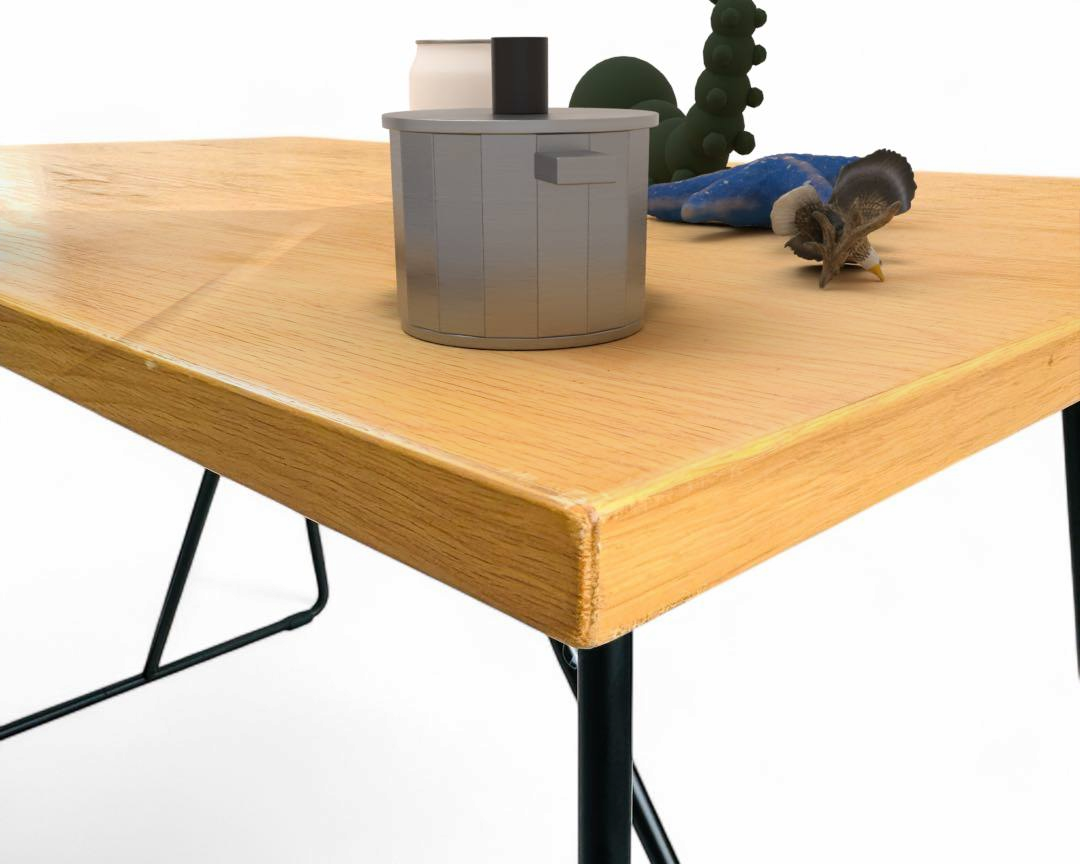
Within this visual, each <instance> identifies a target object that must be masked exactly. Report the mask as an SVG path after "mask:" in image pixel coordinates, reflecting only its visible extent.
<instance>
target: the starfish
mask: <svg viewBox="0 0 1080 864" xmlns="http://www.w3.org/2000/svg"><path fill="white" fill-rule="evenodd" d="M859 158H862V156H856V155H853V156H843V155H827V154H812V153H805V152H804V153H795V152H785V153H775V154H770V155H764V156H763V157H759V158H756V159H754V160H752V161H749V162H747V163H743V164H737V165H735V166H733V167H731V168H730V169H728V170H720V171H717V172H714V173H710V174H704V175H700V176H697V177H694V178H690V179H687V180H682V181H679V182H671V183H660V184H654V185H651V186H649V187H648V202H647V216H650V217H652V218H653V217H654V218H656V219H658V220H663V221H671V222H686V223H693V224H695V223H711V222H715V223H723V224H726V225H729V226H733V227H736V228H739V227H758V228H772V222H771V217H770V215H771V212H772V210H773V205H774V203H775V202H776V201H777V200H778V199H779V198H780V197H781V196H782V195H784V194H786V193H788V192H790V191H792V190H793V189H796V188H798V187H800V186H805V185H812V186H813V187H814V188H815V189H816V192H817V194H818V196H819V198H820V200H821V203H822V204H824V205H826V204H827V203H828V202H829V199H830V198H831V193H832V191H833V189H834V187H835V184H836V181H837V179H838V175H839V173H840V170H841V168H842V166H844V165H848V164H849V163H852V162H854V161H855V160H856V159H859ZM911 170H912V171H913V168H912V166H911Z"/></svg>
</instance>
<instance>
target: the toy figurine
mask: <svg viewBox="0 0 1080 864" xmlns="http://www.w3.org/2000/svg"><path fill="white" fill-rule="evenodd" d="M708 1H709V2H710V3H711V4H712V5H714V6H713V8H712V10H711V14H710V19H709V20H710V28H711V30H712V32H710V34H709V35H708V37H707V38H706V40H705V41H704V44H703V47H702V60H703V66H704V70H702V71H701V73H700V75H699V76H698V77H697V79H696V82H695V85H694V102H695V103H693V105H691V107H690V108H689V109H688V111H687V112H686V114H685V113H684V112H683V111H682V110H681V109H680V108H679V107H678V100H677V97H676V93H675V91H674V88H673V86H672V84H671V83H670V82H669V80H668V78H667V77H666V75H665V74H664V73H662V71H661V70H659V69H658V68H657V67H656V66H654V65H653V64H652V63H650V62H649V61H647V60H645V59H641V58H638V57H636V56H630V55H629V56H628V55H618V56H612V57H609V58H605V59H604V60H601V61H600V62H597V63H595V65H593V66H592V67H590V68H589V69H588V70H586V72H585V73H584V74H583V75H582V76H581V77H580V78H579V81H578V82H577V83H576V84H575V87H574V89H573V91H572V93H571V96H570V99H569V101H568V106H567V108H608V109H632V110H645V111H653V112H657V113H659V124H658V126H656V127H652V128H649V166H648V187H649V186H651V185H654V184H660V183H671V182H679V181H682V180H687V179H690V178H694V177H697V176H700V175H704V174H710V173H714V172H717V171H720V170H728V169H730V168H732V166H728V163H729V158H730V155H731V154H732V153H733V152H735V153H737V154H738V155H740V156H748V155H750V154H751V153H752V152H754V150H755V148H756V146H757V143H756V138H755V135H754V133H752V132H750V131H747V130H745V128H746V124H745V116H744V112H745V110H746V109H747V107H748V108H752V109H755V108H758V107H760V106H761V105H762V103H763V102H764V101H765V99H764V97H765V96H764V92H763V90H762V89H760V88H759V87H756V86H753V87H752V84H751V80H750V77H749V76H748V73H749V72H750V71H751V70H752V68H753V66H755V67H757V66H759V65H761V64H762V63H764V62H765V61H766V60H767V56H768V52H767V49H766V47H765V46H763V45H762V44H760V43H759V44H756V41H755V40H754V39H755V38H753V35H754V33H755V32H756V30H757V29H760V28H762V27H763V26H765V24H766V23H767V21H768V14H767V12H766V10H765V9H762V8H761V7H757V5H756V3H755V1H753V0H708Z"/></svg>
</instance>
